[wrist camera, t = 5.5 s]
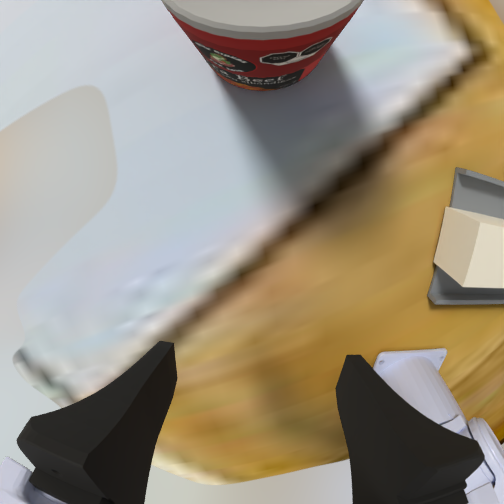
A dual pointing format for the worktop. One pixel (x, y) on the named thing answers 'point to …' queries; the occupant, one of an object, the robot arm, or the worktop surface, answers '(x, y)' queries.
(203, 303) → the worktop surface
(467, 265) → the cream block
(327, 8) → the canned food
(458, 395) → the worktop surface
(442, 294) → the tray
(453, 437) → the robot arm
